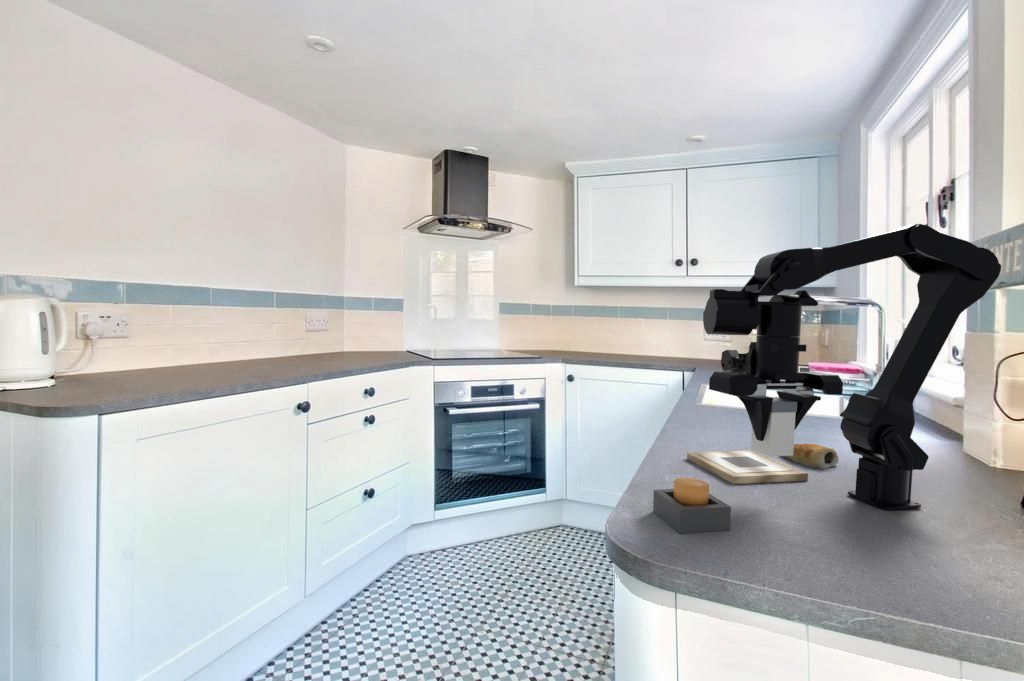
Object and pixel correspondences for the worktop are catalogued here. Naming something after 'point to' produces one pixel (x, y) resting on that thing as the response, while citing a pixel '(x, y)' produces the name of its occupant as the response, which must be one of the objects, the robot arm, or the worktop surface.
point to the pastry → (814, 455)
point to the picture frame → (746, 467)
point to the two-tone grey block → (778, 430)
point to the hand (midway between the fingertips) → (772, 439)
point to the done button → (691, 492)
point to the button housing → (691, 513)
